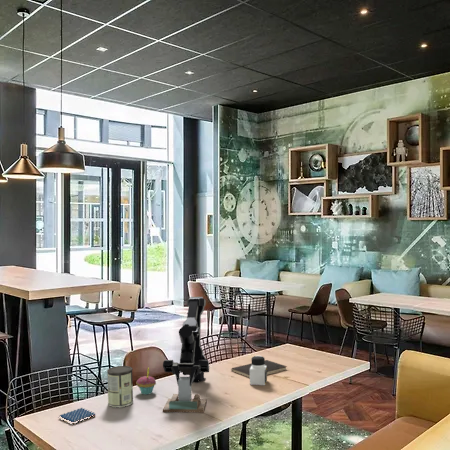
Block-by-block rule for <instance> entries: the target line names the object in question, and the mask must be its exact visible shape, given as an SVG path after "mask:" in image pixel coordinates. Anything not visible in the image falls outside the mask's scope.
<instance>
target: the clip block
mask: <svg viewBox="0 0 450 450" xmlns="http://www.w3.org/2000/svg"><path fill="white" fill-rule="evenodd" d="M177 386H178V389H177V390H178V392H177V394H178V399H179V401H191V399H193V398H192V397H193V396H192V385H191V386H190V377H189V376H179V380H178V384H177Z"/></svg>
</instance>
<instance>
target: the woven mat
mask: <svg viewBox="0 0 450 450" xmlns="http://www.w3.org/2000/svg"><path fill="white" fill-rule="evenodd" d="M92 415H93V416H95V417H96V413H95V412H93V411H90V410H88V409H86V408H83V407H80V408H77V409H73V410H71V411H67V412H66V413H65V412H64V413H62V414H60V415H59V417H60V416H61V417H62V418H64V419H66V420H69V421H71V422H76V421H78V420H79V421H80V420H81V419H84V418H86V417H90V416H92Z"/></svg>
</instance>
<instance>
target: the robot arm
mask: <svg viewBox="0 0 450 450" xmlns="http://www.w3.org/2000/svg"><path fill="white" fill-rule="evenodd" d="M186 302H187V303H186V305H187V306H186V307H188V310H187V315H186V319H185V320H184V321H183V322H182V326H181V327H180V329H179V330H178V336H179V339H180V343H181V349H180V357H179V363H178V362H175V361H174V360H173V359H165V360H163V362H162V367H163V368H162V369H163V371H164V373H172V374H173V375H174V374H175V379H176V383H177V385H178V380H179V378H180V374H181V373H182V375H183V376H188V377H190V386H191V387H192V384H193V383H195V384H197V383H201V382H202V381H206V379H207V378H206V377H205V373H209V372H210V361H208V360H209V359H207V358H206V355H205V354H204V351H203V348H202V347H201V331H202V329H201V326H202V324H201V323H202V315H203V312H204V311H205V307H206V302H207V301H206V299H205V298H204V297H203V296H190V297H189V298H187V301H186Z"/></svg>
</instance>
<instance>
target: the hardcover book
mask: <svg viewBox="0 0 450 450" xmlns="http://www.w3.org/2000/svg"><path fill="white" fill-rule="evenodd" d="M251 366H252V362H251V363H248V364H243V365H239V366H235V367H232V368H231V369H230V370H231V372H233V373H235V372H236V373H235V374H238V373H239V374H238V375H241V374H242V375H241V376H243V375H244V376H243V377H246V376H247V378H249V379H250V368H251ZM265 366H267V375H270V374H275V373H278V372H282V371H286V370H287V367H288V366H287V365H284V364H280V363H278V362H275V361H271V360H268V359H265Z"/></svg>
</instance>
